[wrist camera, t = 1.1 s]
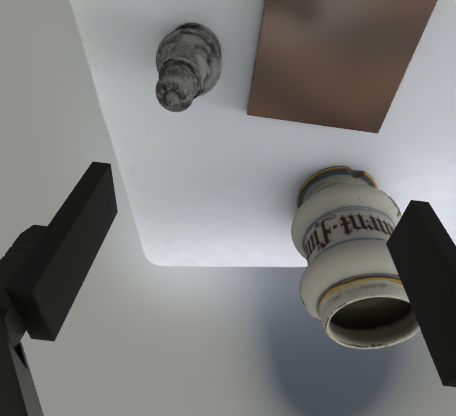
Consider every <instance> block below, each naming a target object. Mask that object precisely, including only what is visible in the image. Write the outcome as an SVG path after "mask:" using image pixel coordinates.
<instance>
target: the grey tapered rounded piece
mask: <svg viewBox="0 0 456 416" xmlns="http://www.w3.org/2000/svg"><path fill="white" fill-rule="evenodd" d="M156 66H157V71H158V73H159V81H158V82H157V85H156V97H157V99H158V101H159V103H160V104H161V105H162V106H163V107H164V108H165V109H167V110H169V111H172V112H181V111H184V110H186V109H187V108H188V107H189V106H190V105H191V103H192V101H193V99H195V98H196V97H197V96H201V95H204V94H206V93H207V92H209V91H210V90H211V89H212V88H213V87H214V86H215V85H216V83H217V81H218V79H219V77H220V72H221V48H220V45H219V42H218V40H217V38H216V36H215V35H214V34H213V33H212V32H211V31H210V30H209V29H208V28H206V27H204V26H203V25H200V24H196V23H188V24H185V25H182V26H180V27H178V28H177V29H176V30H175V31H172V32H171V33H169V34H168V35H167V36H165V37H164V39H163V40H162V41H161V43H160V44H159V47H158V50H157V53H156Z"/></svg>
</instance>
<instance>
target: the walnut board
mask: <svg viewBox="0 0 456 416" xmlns="http://www.w3.org/2000/svg"><path fill="white" fill-rule="evenodd" d="M437 1H438V0H265V5H264V11H263V17H262V23H261V29H260V35H259V41H258V48H257V54H256V60H255V66H254V72H253V78H252V84H251V91H250V97H249V103H248V109H247V115H252V116H259V117H266V118H273V119H280V120H287V121H294V122H301V123H308V124H316V125H323V126H330V127H337V128H344V129H351V130H358V131H365V132H372V133H378V132H379V130H380V128H381V125H382V123H383V121H384V119H385V116H386V114H387V112H388V110H389V108H390V105H391V103H392V101H393V99H394V96H395V94H396V92H397V90H398V87H399V85H400V83H401V81H402V79H403V76H404V74H405V72H406V70H407V67H408V65H409V63H410V61H411V58H412V56H413V54H414V52H415V50H416V47H417V45H418V43H419V41H420V38H421V36H422V34H423V32H424V29H425V27H426V25H427V23H428V21H429V18H430V16H431V14H432V12H433V9H434V7H435V5H436V3H437Z"/></svg>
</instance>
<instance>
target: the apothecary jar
mask: <svg viewBox="0 0 456 416" xmlns="http://www.w3.org/2000/svg"><path fill="white" fill-rule="evenodd" d="M297 205H298V210H297V212H296V214H295V216H294V218H293V222H292V227H291V234H292V240H293V243H294V245H295V247H296V249H297V250H298V252H299V253H300V254H301V255H302V256H303V257H304V258H305V259H307V262H308V267H307V268H306V269H305V271H304V273H303V275H302V277H301V282H300V296H301V299H302V302H303V304H304V306H305V307H306V309H307V310H308V312H309V313H310V314H311V315H312V316H313V317H314V318H316V319H317V320H318V321H320V322H321V323H323V326H324V329H325V332H326V334H327V335H328V336H329V337H330V338H331V339H332V340H334V341H335V342H337V343H339V344H341V345H344V346H347V347H351V348H357V349H374V348H382V347H387V346H391V345H394V344H397V343H399V342H402V341H404V340H406V339H408V338H410V337H412V336H413V335H414V334H416V333H417V332H418V331H419V330H420V327H419V325H418V322H417V320H416V317H415V315H414V312H413V310H412V307H411V305H410V302H409V300H408V297H407V295H406V292H405V290H404V287H403V285H402V282H401V280H400V278H399V275H398V273H397V270H396V268H395V265H394V263H393V260H392V258H391V255H390V253H389V250H388V248H387V245H386V243H387V241H388V239H389V238H390V236H391V234H392V232H393V231H394V229H395V227H396V225H397V224H398V222H399V220H400V219H401V217H402V216H401V213H400V210H399V208H398V206H397V205H396V203H395V202H394V201H393V199H392V198H391V197H390V196H388V195H387V194H386V193H384V192H383V191H381V190H379V189H378V188H377V185H376V183H375V181H374V180H373V178H372V177H371V176H370V175H368V174H367V173H366V172H364V171H352V170H350V169H349V167H332V168H328V169H325V170H323V171H320V172H318V173H317V174H315V175H313V176H312V177H311V178H309V179H308V180H307V181H306V182H305V183H304V185H303V186H302V188H301V189H300V191H299V194H298V200H297Z"/></svg>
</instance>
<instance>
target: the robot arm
mask: <svg viewBox="0 0 456 416" xmlns="http://www.w3.org/2000/svg"><path fill="white" fill-rule="evenodd" d="M116 214H117V205H116V198H115V192H114V184H113V177H112V171H111V164H108V163H100V162H92V164H91V165H90V166H89V168H88V169H87V171H86V172H85V174H84V175H83V176H82V178H81V179H80V181H79V182H78V183H77V185H76V186H75V188H74V189H73V191H72V192H71V194H70V195H69V196H68V198H67V199H66V201H65V202H64V204H63V205H62V206H61V208H60V209H59V211H58V212H57V213H56V215H55V216H54V218H53V219H52V221H51V222H50V224H49V225H48V226H40V225H33V226H31V227H30V228H28V229H27V230H26V231H24V232H23V233H21V234H20V235H19V237H18V238H17V239H16V241H15V242H14V243H13V245H12V247H10V248H9V250H8V251H7V252H6V253H5V256H4V257H2V259H1V260H0V416H44V415H43V412H42V408H41V405H40V402H39V398H38V396H37V392H36V389H35V385H34V382H33V379H32V375H31V372H30V369H29V365H28V362H27V359H26V355H25V352H24V349H23V346H22V343H21V342H20V340H21V338H22V337H23V335H24V333H25V331H26V330H27V332H28V333H29V335H30V337H31V339H38V340H47V341H55V339H56V337H57V335H58V333H59V331H60V329H61V327H62V325H63V323H64V321H65V318H66V316H67V314H68V312H69V310H70V308H71V306H72V304H73V302H74V300H75V298H76V296H77V294H78V292H79V290H80V288H81V286H82V284H83V282H84V280H85V277H86V276H87V273H88V271H89V269H90V267H91V265H92V263H93V261H94V259H95V257H96V255H97V253H98V251H99V249H100V247H101V245H102V243H103V241H104V239H105V237H106V235H107V232H108V231H109V228H110V226H111V224H112V222H113V220H114V218H115V216H116ZM386 245H387V248H388V250H389V253H390V255H391V258H392V260H393V263H394V265H395V268H396V270H397V273H398V275H399V278H400V280H401V282H402V285H403V287H404V290H405V292H406V295H407V297H408V300H409V302H410V305H411V307H412V310H413V312H414V315H415V317H416V320H417V322H418V325H419V327H420V329H421V332H422V334H423V337H424V339H425V342H426V344H427V346H428V349H429V352H430V354H431V357H432V359H433V361H434V364H435V367H436V369H437V371H438V374H439V376H440V379H441V381H442V384H443V386H451V387H456V246H455V244H454V242H453V241H452V239H451V238H450V236H449V234H448V233H447V231H446V230H445V228H444V226H443V225H442V223H441V222H440V220H439V218H438V217H437V215H436V213H435V212H434V210H433V209H432V207H431V205H430V204H429V202H423V201H415V200H411V201H410V203H409V205H408V206H407V208H406V210H405V212H404V213H403V215H402V217H401V219H400V220H399V222H398V224H397V225H396V227H395V229H394V231H393V232H392V234H391V236H390V238H389V239H388V241H387V243H386Z"/></svg>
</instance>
